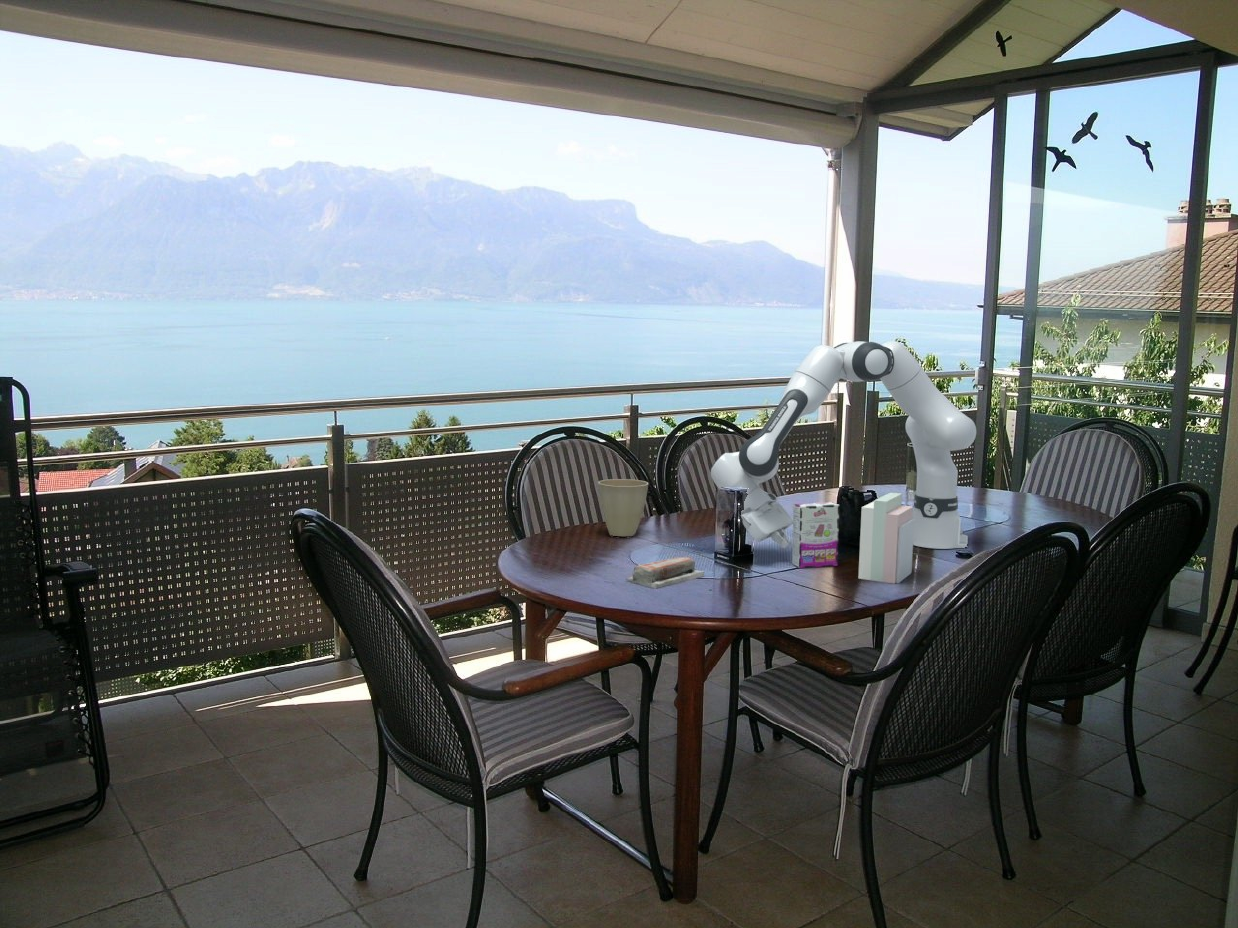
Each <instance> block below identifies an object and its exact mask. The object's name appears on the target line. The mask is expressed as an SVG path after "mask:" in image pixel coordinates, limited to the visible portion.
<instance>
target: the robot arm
mask: <svg viewBox="0 0 1238 928" xmlns="http://www.w3.org/2000/svg"><path fill="white" fill-rule="evenodd" d="M839 380H840V381H845V382H846V381H848V382H853V383H860V382H874V381H877V380H880V381H881V382H882V384H883V385H884V387H885V389H886V390H887V391H888V393H889V394H890V396H891V397H892V398H893V400H894V401H895V402H896V404H897V405H898V408H899V409H900V410H902V411H903V412H904V413H905V414H907V415H908V417H907V419H906V422H905V432H906V434H907V436H908V437H909V439H910V441H911V444H912V448H913V453H914V456H915V463H916V485H915V486H916V489H915V490H916V492H915V494H914V498H913V519H914V535H913V546H916V547H921V548H927V549H938V550H939V549H940V550H946V549H947V550H948V549H949V550H951V549H966V548H965V547H967V548H968V546H967V544H968V543H969V542H968V540H969V538H968V537H969V536H968V535H967V534H964V530H963V529H961V525H962V518H961V516H960V514H959V512H958V509H959V506H958V505H959V499H958V495H957V490H958V476H959V475H958V474H959V473H958V468H957V466H956V465H955V463H954V461H953V458H952V456H951V452H952V451H953V452H954V451H955V452H956V451H961V450H966V449H968V448H969V447H970V446H971V445H972V444H973V443H974V442H975V439H976V436H977V427H976V424H975V422H974V420H973V419H971V418H970V417H968V416H967V415H966V414H965V413H964V412H962V411H960V409H958V408H957V407H956V405H954V404H953V402H952V401H950V400H949V399H948V398H947V397H946V396H945V395H944V394H943V393H942V392H941V391H940V390H939V389H938V388H937V386H936V385H935V384H934V383H933V381H932V380H931V378H930V377H929V376H928V374H927V373H926V372H925V370H924V369H923V368H922V366H921V365H920V363H919V361H917V359H916V357H915V356H914V355H913V353H912V352H910V351H909V349H907V348H906V347H905V345H903V344H902V343H901V342H899V341H897V340H889V341H886V342H884V343H882V344H880V343H878V342H874V341H861V340H859V341H857V340H856V341H853V342H844V343H843V342H842V343H840V344H838V345H836V346H834V347H832V346H830V345H825V344H820V345H817V346H815V347H814V348H813V349H812V350H811V351H809V353H808V354H807V355H806V356H805V358H803V360H802V361H801V363H799V365H798V366H797V368H796V369H795V371H794V372H793V374H792V376H791V377H790V379H789V381H788V383H787V384H786V387H785V389H784V392H783V394H782V397H781V399H780V401H779V403H778V404H777V406H776V407H775V410H774V411H773V412H772V414H771V415H770V417H769V418H768V420H767V421H766V423H764V425H763V427H762V428H761V430H759V431H758V432H757V433H756V434H755V435H754V436H752V437H750V438H748V439H747V440H746V441H745V442H744V443H743V444H742V445H741V447H740V449H739V451H736V452H735V451H734V452H724V453H722V454H721V455H720V456H719V457H718V458H717V459H715V461H714V463H713V464H712V466H711V468H710V477H711V479H712V481H713V482H714V484H715V486H716V487H717V488H718V489H719V488H721V487H742V488H747V492H746V493H747V494H748V495H747V497H746V499H745V501H744V510H742V511H741V515H740V517H741V519H742V524H743V526H744V528H745V529H746V530H747V532H748V533H749V535H750V536H751V538H752V539H753V540H755V541H756V542H758V543H760V542H762V541H764V540H766V539H769V538H771V540H772V541H774V542H775V543H776V544H779V546H780V547H781V548H782V549H785V548H787V547H789V546H790V545H791V544H792V541H791V539H789V537H788V534H787V532H786V530H787V529H788V528H790V526H793V518H792V517H791V516H790V514H789V512H788V511H787V510H786V509H785V508H784V507H783V505H782V504H781V503H780V502H779V501H778V497H777V496H776V495H775V494H774V493H771V492H766V491H765V490H763V489H762V488H761V486H760V485H761V484H764V483H765V482H767V481H768V480H770V479H772V478H773V477H774V476H775V475H776V474H777V473H778V470H779V465H780V461H779V452H780V451H779V450H780V447H781V445H782V443H783V441H784V440H785V439H786V437H787V436H788V435H789V432H790V431H791V429H793V427H794V426H795V425H796V424H795V423H797V421H799V419H801V418H802V417H803V416H806V415H810V414H813V413H815V412H816V411H817V410H818V409H819V408H820V407H821V405H822V404H823V403H825V400H826V399H827V397H828V396H829V395H830V393H831V391H832V390H833V389H834V386H835V385H836V384H837V382H839ZM748 488H749V489H748Z"/></svg>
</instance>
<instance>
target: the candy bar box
mask: <svg viewBox="0 0 1238 928" xmlns="http://www.w3.org/2000/svg"><path fill="white" fill-rule="evenodd" d="M792 505H793V507H792V510H793V511H792V512H793V513H792V521H793V524H792V548H791V549H792V550H791V551H792V552H791V553H792V554H791V555H792V556H791V557H792V560H791V561H792V563H791V564H792V565H793V566H794V567H796V568H799V569H814V568H827V567H829V568H830V567H837V566H838V563H839V561H838V560H839V531H840V529H839V527H840V525H839V523H840V504H837V503H835V502H833V501H825V502H824V501H823V502H821V501H820V502H811V503H810V502H809V503H808V502H807V503H806V502H803V503H793V504H792Z"/></svg>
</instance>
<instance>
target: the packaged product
mask: <svg viewBox="0 0 1238 928" xmlns="http://www.w3.org/2000/svg"><path fill="white" fill-rule="evenodd" d="M695 567H696V560H694V559H692V558H691V557H689V556H683V557H682V556H680V557H672V558H668V559H664V560H657V561H653V562H648V563H643V564H639V565H636V566H634V567H633V573H632V576H630V577H626V579H625V580H626V582H628V583H631V584H632V583H633V584H637V585H639V586H643V587H648V588H650V589H659V588H663V587H668V586H672V585H676V584H679V583H680V584H681V583H684V582H688V581H692V580H695V579H698V578H703V577H704V576H705V571H704V570H703V571H702V570H698V569H695Z"/></svg>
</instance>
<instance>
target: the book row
mask: <svg viewBox="0 0 1238 928" xmlns="http://www.w3.org/2000/svg"><path fill="white" fill-rule="evenodd" d="M902 501H903V493H897V492H888V493H887V494H885V495H882V496H880V497H877V498H876V499H875V500H873V501H872V502H869V503H868V504H865V505H864V506H861V512H860V513H861V514H860V515H861V516H860V536H859V553H858V554H859V556H858V557H859V559H858V560H859V561H858V576H857V577H858V579H859V580H860V579H861V580H864V581H865V580H866V581H873V582H880V583H887V584H893V585H895V584H900V582H902V581H904V580H905V579H906V578H907V577H908V576H910V575H911V574H912V571H913V570H912V567H913V552H914V551H913V550H914V545H913V535H914V519H913V509H914V505H913V506H912V505H902V504H903V503H902Z"/></svg>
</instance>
